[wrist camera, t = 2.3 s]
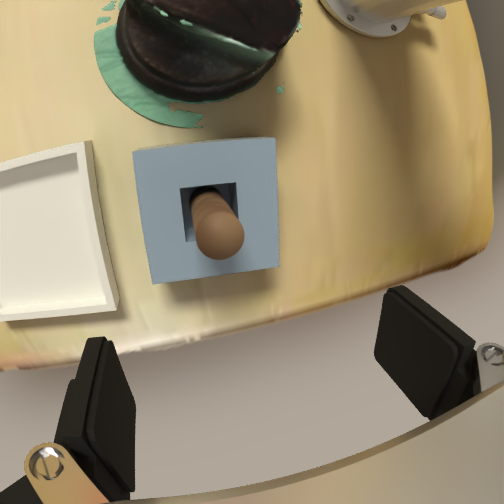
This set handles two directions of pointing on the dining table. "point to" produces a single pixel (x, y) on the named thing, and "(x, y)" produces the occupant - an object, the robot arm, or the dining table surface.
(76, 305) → the tray
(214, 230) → the pin
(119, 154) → the dining table surface
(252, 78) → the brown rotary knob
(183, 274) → the holder
